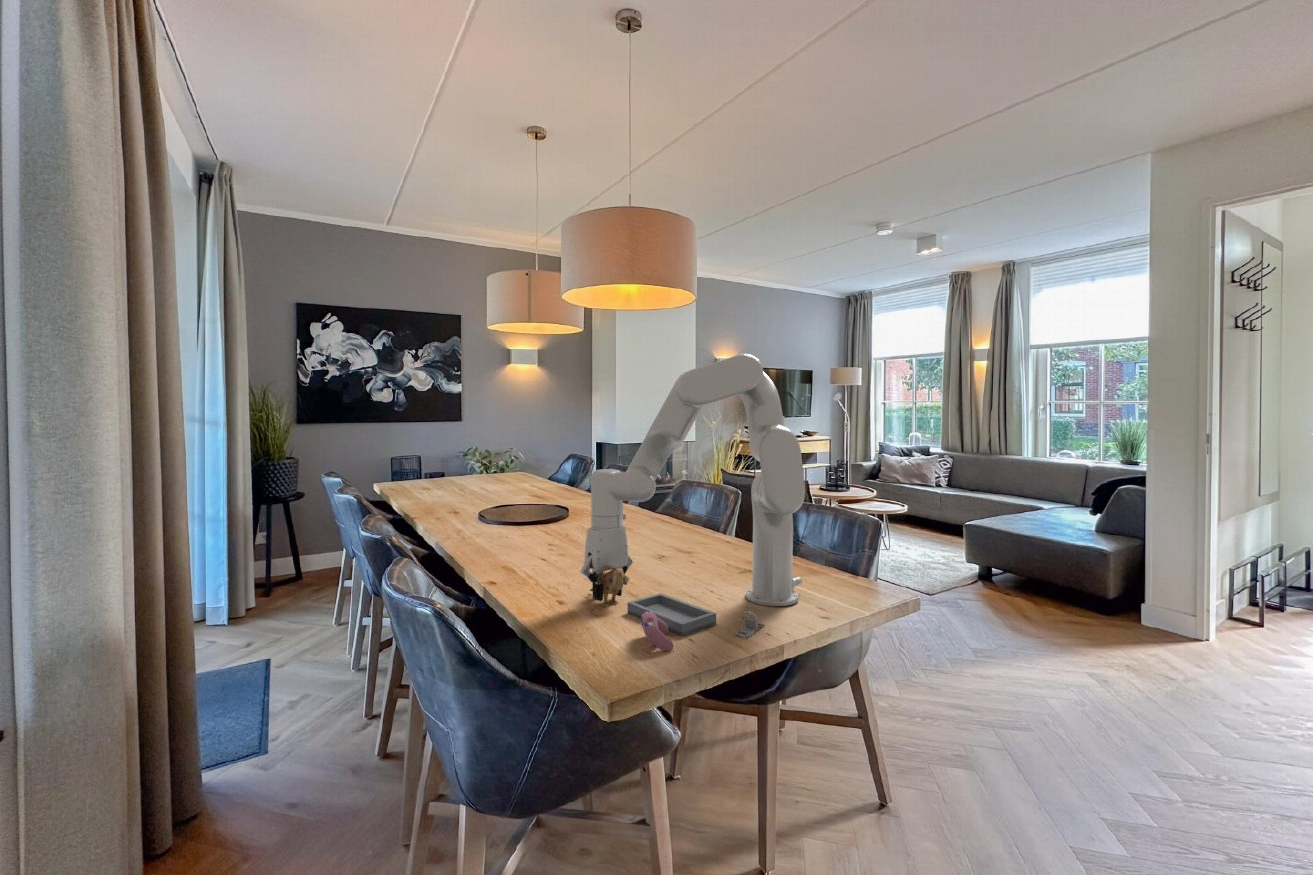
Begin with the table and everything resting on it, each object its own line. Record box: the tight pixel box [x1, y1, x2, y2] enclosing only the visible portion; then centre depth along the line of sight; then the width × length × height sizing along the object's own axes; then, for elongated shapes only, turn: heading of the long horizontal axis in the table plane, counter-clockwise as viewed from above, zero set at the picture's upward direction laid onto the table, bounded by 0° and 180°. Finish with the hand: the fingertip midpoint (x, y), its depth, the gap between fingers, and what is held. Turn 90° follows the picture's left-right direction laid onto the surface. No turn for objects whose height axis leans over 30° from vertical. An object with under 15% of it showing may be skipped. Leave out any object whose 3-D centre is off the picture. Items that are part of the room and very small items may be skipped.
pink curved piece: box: [640, 611, 674, 652], centre depth 116 cm, size 10×5×7 cm, turn 5°
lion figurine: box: [589, 568, 630, 607], centre depth 141 cm, size 15×5×9 cm, turn 37°
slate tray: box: [627, 593, 717, 637], centre depth 129 cm, size 10×18×2 cm, turn 41°
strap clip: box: [735, 610, 765, 639], centre depth 123 cm, size 8×3×4 cm, turn 145°
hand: (607, 596), depth 140 cm, fingers closed on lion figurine, 4 cm apart
